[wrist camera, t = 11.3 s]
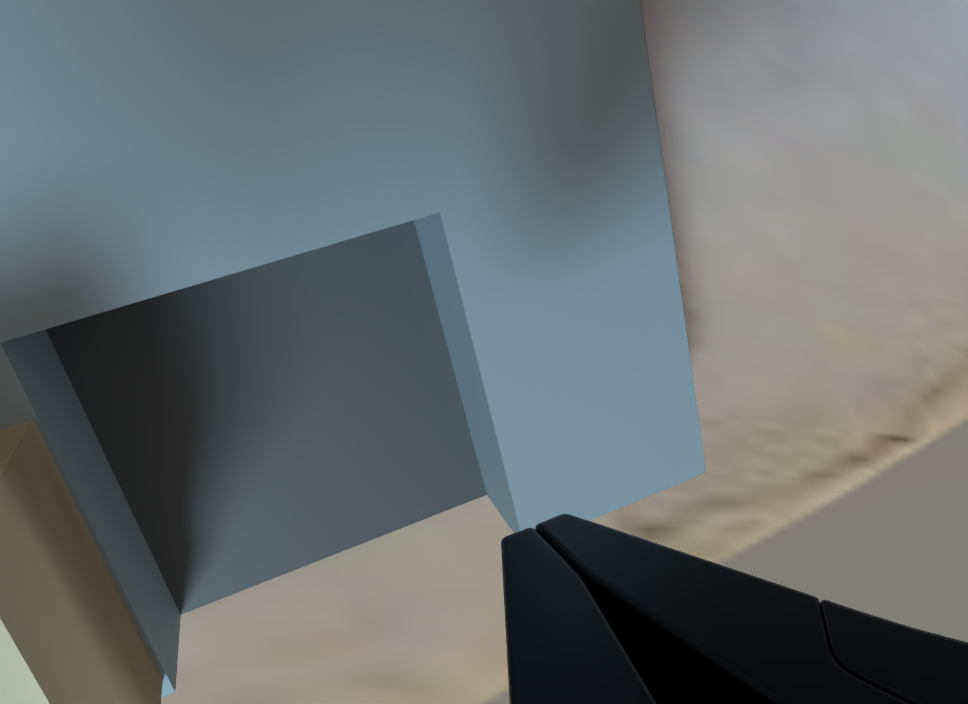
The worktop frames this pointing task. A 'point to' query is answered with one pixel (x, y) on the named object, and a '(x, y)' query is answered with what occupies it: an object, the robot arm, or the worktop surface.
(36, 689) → the block
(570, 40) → the board
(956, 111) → the worktop surface
